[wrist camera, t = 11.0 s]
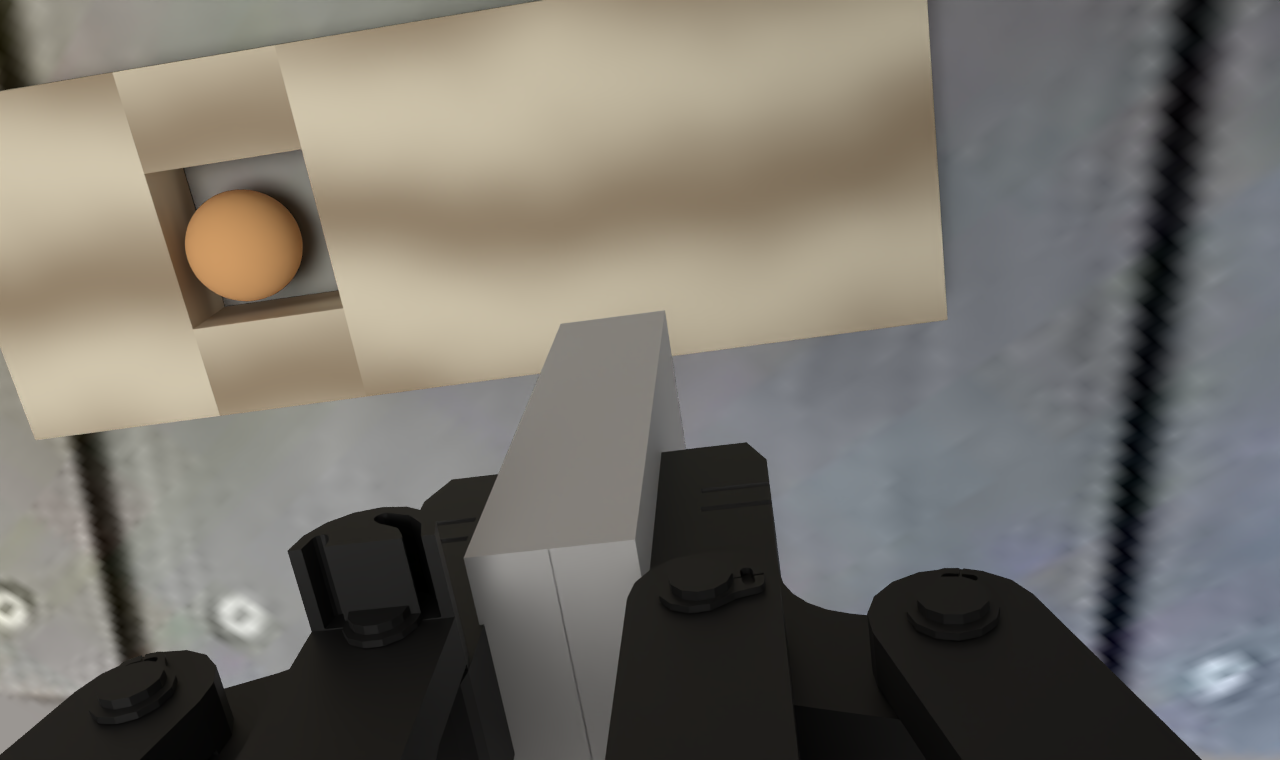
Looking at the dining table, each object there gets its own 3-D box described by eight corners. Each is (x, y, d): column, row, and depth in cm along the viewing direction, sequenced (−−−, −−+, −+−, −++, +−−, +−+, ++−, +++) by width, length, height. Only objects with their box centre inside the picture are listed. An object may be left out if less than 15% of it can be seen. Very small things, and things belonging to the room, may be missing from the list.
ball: (185, 207, 32) (301, 180, 33) (159, 201, 35) (267, 176, 36) (220, 322, 33) (330, 289, 35) (192, 307, 36) (295, 277, 37)
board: (-38, 97, 35) (-91, 106, 33) (906, -62, 32) (923, -64, 30) (75, 411, 39) (35, 440, 37) (931, 296, 36) (947, 319, 33)
